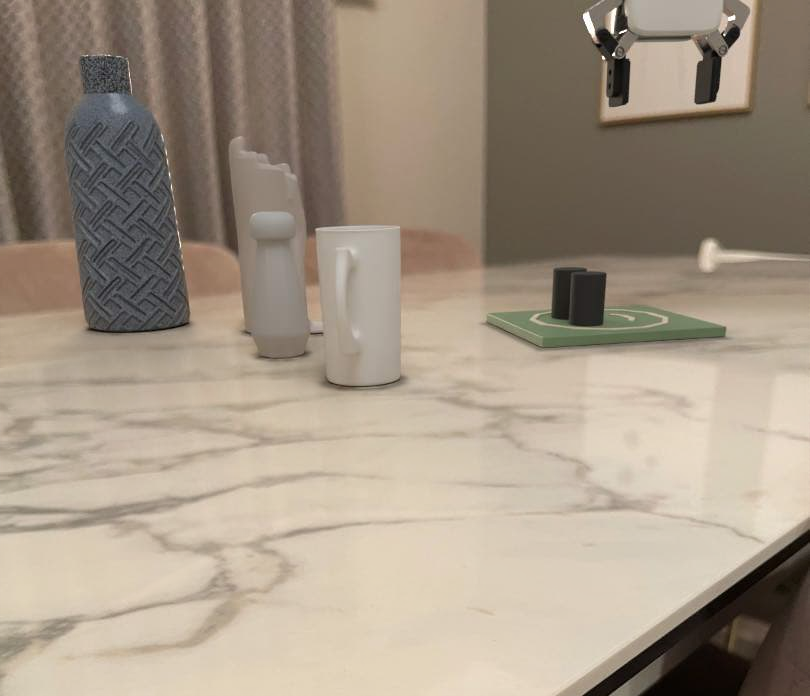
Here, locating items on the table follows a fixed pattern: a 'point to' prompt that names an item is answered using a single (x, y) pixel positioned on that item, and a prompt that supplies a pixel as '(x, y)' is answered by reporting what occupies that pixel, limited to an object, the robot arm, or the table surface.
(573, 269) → the black upright cylinder
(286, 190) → the foot sculpture
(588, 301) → the black upright cylinder
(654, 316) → the face board
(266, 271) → the salt shaker
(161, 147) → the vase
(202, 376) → the table surface
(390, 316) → the mug
